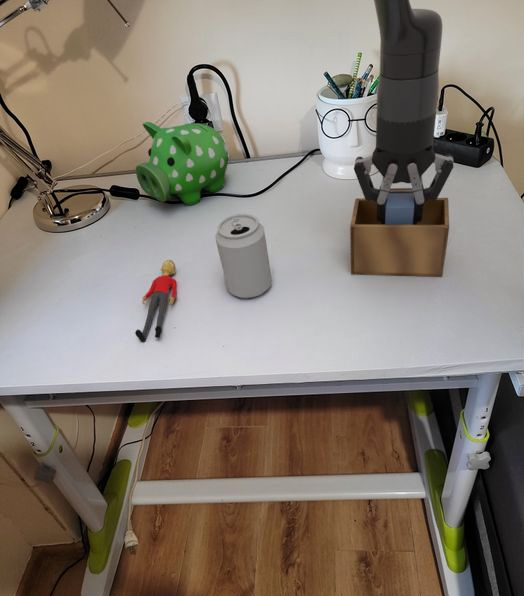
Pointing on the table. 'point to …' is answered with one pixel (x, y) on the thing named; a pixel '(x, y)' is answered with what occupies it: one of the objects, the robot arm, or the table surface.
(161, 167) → the piggy bank
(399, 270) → the drawer
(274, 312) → the table surface
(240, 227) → the can
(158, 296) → the person figure
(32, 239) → the table surface
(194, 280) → the table surface
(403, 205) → the slate blue cube
